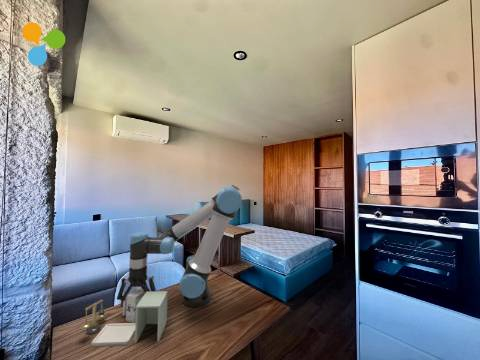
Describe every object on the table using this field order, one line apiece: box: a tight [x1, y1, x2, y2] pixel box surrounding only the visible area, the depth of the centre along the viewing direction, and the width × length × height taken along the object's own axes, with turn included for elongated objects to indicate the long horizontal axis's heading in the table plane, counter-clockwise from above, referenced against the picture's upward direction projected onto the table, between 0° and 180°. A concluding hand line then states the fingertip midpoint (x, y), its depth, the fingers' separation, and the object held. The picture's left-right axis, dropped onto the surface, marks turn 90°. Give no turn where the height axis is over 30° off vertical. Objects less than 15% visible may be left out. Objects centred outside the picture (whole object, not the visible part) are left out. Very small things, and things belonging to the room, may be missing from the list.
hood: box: [134, 290, 169, 344], centre depth 86 cm, size 9×11×14 cm
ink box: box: [125, 287, 145, 323], centre depth 96 cm, size 9×5×12 cm, turn 169°
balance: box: [79, 299, 108, 336], centre depth 86 cm, size 14×5×12 cm, turn 5°
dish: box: [90, 322, 135, 348], centre depth 83 cm, size 14×10×1 cm
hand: (136, 313), depth 95 cm, fingers open, 10 cm apart
